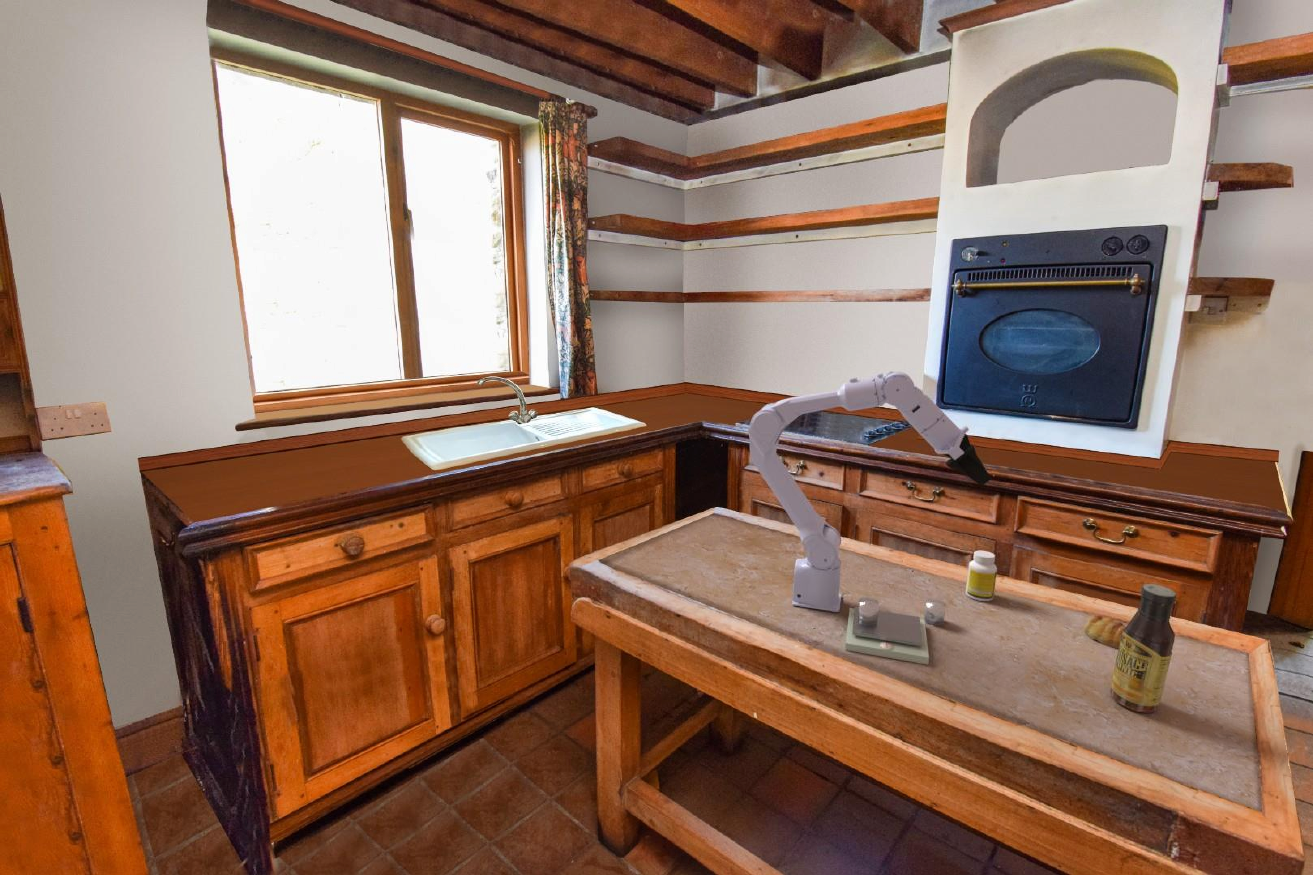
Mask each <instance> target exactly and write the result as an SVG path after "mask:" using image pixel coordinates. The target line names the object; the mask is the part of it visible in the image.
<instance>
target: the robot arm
mask: <svg viewBox="0 0 1313 875" xmlns="http://www.w3.org/2000/svg"><path fill="white" fill-rule="evenodd" d="M885 404H888V405H891V406H894V407H895V408H896V409H897V411H899V412H900V413H901V416H902V417H903V418H904V419H905V420H906V422H908V423H909V424H910V426H912V427H913V429H915V431H916V432H917V433H918V434H919V435H920V436H921V437H922V438H923V439H924V440H925V441H926V443H928V444H929V445H930V446H931V447H932V448H933V450H934V452H935V453H936V454H938V455H943V456H944V457H948V458H949V459H948V460H947V461H945V462H944V463H945V465H946V467H948V468H950V469H952V470H955V471H958V472H959V473H962V474H963V475H965V476H967V477H968V478H969V479H970V480H972V481H973V482H975V483H976V484H978V485H980V486H981V487H982V486H983V485H985V484H987V483H988V482H989V481H991V480H992V477H991V476H990V474H989V472H988V470H987V469H986V467H985V465H984V463H983V462H982V461H981V459H980V458H979V457H978V454H977V452H976V448H975V446H974V444H973V443H972V444H971V443H970V440H969V436H968V435H967V433H968V432H969V430H970V428H968V426H967V425H964V426H962V427H961V428H959V426H957V424H955V423H954V421H953V420H951V418H949V416H947V414H946V413H944V412H943V410H942V409H941V408H940V407H939V406H938V405H937V404H936V403H935V402H934V401H933V400H932V399H931V398H930V397H929V396H928V395H926V394H924V392H923V390H922V389H921V388H919V387H917V385H916V386H915V383H914V381H913V380H912V378H911V376H909V375H908V374H907V373H905V372H902V371H890V372H888V373H886V374H885V375H884V373H883V372H881V373H877V374H876V376H874V377H873V376H872V377H868V378H867V377H866V378H863V379H858V378H857V377H855V376H854V377H851V378H849V381H846V382H845V381H844V382H843V384H842V385H841V386H840V388H839V389H838V390H832V391H827V392H817V393H813V394H806V395H805V394H804V395H800V396H798V395H797V396H792V397H788V398H785V399H781V400H779V401H778V400H777V401H776V402H771V403H768V404H765V405H764V406H763V407H762V408H761V409H760V410H759V411H757V412H756V413H755V414H753V416H752V418H751V421H750V423H749V425H748V426H749V427H748V429H747V434H748V435H749V438H748V439H749V456H750V460H751V461H752V463H753V464H754V466H755V468H756V469H757V470H758V472H759V474H760V475H761V476H762V479H764V481H765V483H766V484H767V485H768V487H769V488H770V489H771V491H772V493H773V495H774V496H775V497H776V498H777V500H778V502H779V504H780V506H782V507H783V509H784V510H785V512H786V514H787V516H788V517H789V518H790V520H791V521H792V523H793V524H794V525H795V527H796V529H797V531H798V535H799V538H800V542H801V543H802V546H803V547H804V549H805V556H806V557H805V558H796V560H795V566H794V571H793V572H794V573H793V584H792V601H791V602H792V603H791V604H792V605H793V606H797V607H802V608H809V609H814V610H815V609H816V610H821V611H826V612H827V611H828V612H833V613H839V612H840V608H841V601H842V594H841V593H840V581H841V569H842V561H841V559H840V558H839V550H840V546H841V545H842V537H841V534H840V532H839V531H838V530H837V529H836V528H835V527H833V526H831V525H830V524H829V523H828V522H827V520H826V519H825V518H824V517H822V516H821V515H819V514H818V513H817V512H816V510H815V508H814V507H813V505H812V504H811V502H810V501H809V500H808V498H807V496H806V495H805V494H804V492H803V491H802V489H801V487H800V486H799V485H798V483H797V482H796V480H795V479H794V477H793V476H792V474H791V473H790V471H789V470H788V468H787V467H786V465H785V464H784V462H783V460H782V459H781V458H780V456H779V455H778V453H777V449H778V446H779V445H778V444H779V441H780V437H781V435H782V433H783V432H784V430H785V429H786V427H787V426H789V425H790V424H791V423H792V422H793V421H795V420H796V419H797V418H798V417H799V416H801V415H805V414H810V413H815V412H819V411H825V410H830V409H834V408H838V407H842V408H843V409H845V410H847V411H848V412H853V411H858V410H865V409H871V408H872V409H873V408H877V407H883V406H884V405H885Z"/></svg>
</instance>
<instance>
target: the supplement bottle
mask: <svg viewBox="0 0 1313 875" xmlns="http://www.w3.org/2000/svg"><path fill="white" fill-rule="evenodd" d="M995 559H996V555H995V553H992V552H990V551H988V550H987V551H986V550H975V551H974V553H973V560H971V561H970V562H969V563H968V569H967V577H966V587H965V594H966V596H967V597H969V598H971V599H973V600H975V601H979V602H991V601H993V600H994V596H995V589H996V588H995V587H996V582H997V580H996V579H997V574H998V568H997V565H996V564H995V562H996V561H995Z"/></svg>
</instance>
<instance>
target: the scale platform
mask: <svg viewBox="0 0 1313 875" xmlns="http://www.w3.org/2000/svg"><path fill="white" fill-rule="evenodd" d="M854 608H855V611H854V621H853V631H852V635H857V636H863V637H869V638H875V639H881V640H887V641H893V642H898V643H904V644H910V645H916V646H922V644H923V643H922V634H921V624H920V619H921V618H920V617H921V616H915V615H910V614H909V615H908V614H903V613H895V612H890V611H884V610H878V620H877V624H876V625H874V626H867V625H863V624H861V623H859V622H858V607H857V606H855V607H854Z"/></svg>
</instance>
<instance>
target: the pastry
mask: <svg viewBox="0 0 1313 875" xmlns="http://www.w3.org/2000/svg"><path fill="white" fill-rule="evenodd" d="M1126 626H1127V625H1124V623H1123V622H1121V621H1115V620H1114V619H1113V618H1111V617H1105V616H1103V615H1101V614H1097V613H1095V614H1094V615H1092V616H1091V617H1090V618H1089V619H1088V620H1087V622H1086V623H1085V626H1084V628H1083V632H1084V633H1085V634H1086V635H1087V636H1088V637H1089V638H1090V639H1091V640H1093V641H1094V640H1095V641H1098V642H1099V643H1100V644H1102V645H1105V646H1106V647H1107V646H1108V647H1110V648H1113V649H1116V650H1119V646H1120V642H1121V637H1122V633H1123V630H1124V629H1125V628H1126Z"/></svg>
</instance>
